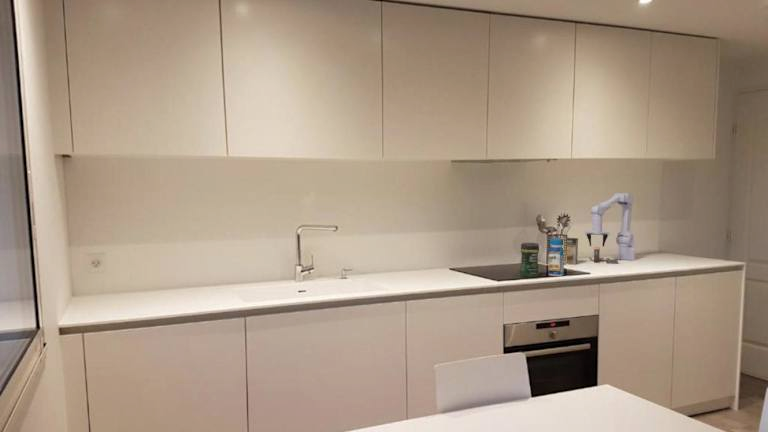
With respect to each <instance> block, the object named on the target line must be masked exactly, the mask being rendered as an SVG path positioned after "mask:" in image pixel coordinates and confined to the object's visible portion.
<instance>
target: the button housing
mask: <svg viewBox="0 0 768 432" xmlns="http://www.w3.org/2000/svg"><path fill="white" fill-rule="evenodd" d="M618 260H619V259H618V258H615V260H609V259H606V261H605V263H606V264H610V265H611V264H614V265H616V264H618V263H619V261H618Z"/></svg>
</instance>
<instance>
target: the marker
mask: <svg viewBox="0 0 768 432" xmlns="http://www.w3.org/2000/svg"><path fill="white" fill-rule="evenodd" d="M600 249H601V248H600V247H599V246H598V247H597V246H596V247H593V257H594V261H593V263H597V264H599V263H600V261H599V258H600Z"/></svg>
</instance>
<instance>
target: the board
mask: <svg viewBox="0 0 768 432" xmlns="http://www.w3.org/2000/svg"><path fill="white" fill-rule="evenodd" d="M588 258H589V261H591V262H592V261H593V262H594V256H592V257H590V256H589V257H588ZM606 259H609V257H599V262H606Z"/></svg>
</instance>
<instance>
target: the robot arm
mask: <svg viewBox="0 0 768 432" xmlns="http://www.w3.org/2000/svg"><path fill="white" fill-rule="evenodd" d="M633 201H634V197H633V195H632V193H629V192H628V193H626V192H625V193H623V192H616V193H614V194H613V196H612V197H610V198H609V199H608V200H602V202H601V203H598V204H597V205H595V206H592V207H591V209H590V214H591V218H592V230H591V231H588V230H587V231H584V235H586V237H587V239H588V243H589V246H590V247H592V235H593V236H596V235H597V236H598V235H599V236H602V247H603V248H604V247H605V243H606V241H607V239H608V237H609V236H610V235H611V234H610V231H603V216H604V214H605V212H607V211H608V210H610V209H611V207H612V205H615V204H616V203H617V204H619V205H620V206H621V207H622V214H621V215H622V216H621V227H620V231H619V232H618V233H617V237H616V238H615V242H616V244H617V246H618V257H616V259H617V260H620V261H621V260H622V261H635V251H636V250H635V246H634V243H635V239H634V234H633V233H632V232H631V221H632V210H633V209H632V208H633Z"/></svg>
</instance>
